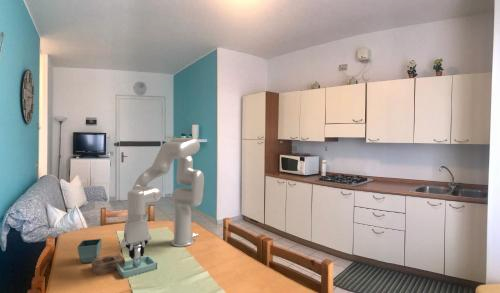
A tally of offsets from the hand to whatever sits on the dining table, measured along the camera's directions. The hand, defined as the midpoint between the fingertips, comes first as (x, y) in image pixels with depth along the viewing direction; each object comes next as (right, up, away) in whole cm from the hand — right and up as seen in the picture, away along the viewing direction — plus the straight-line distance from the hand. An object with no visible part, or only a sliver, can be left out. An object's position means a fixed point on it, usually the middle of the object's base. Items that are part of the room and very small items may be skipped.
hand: (136, 256), depth 132 cm
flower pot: (-26, -6, +9) cm, 28 cm away
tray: (0, -6, 0) cm, 6 cm away
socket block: (-13, -6, +1) cm, 15 cm away
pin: (0, -4, 0) cm, 4 cm away
